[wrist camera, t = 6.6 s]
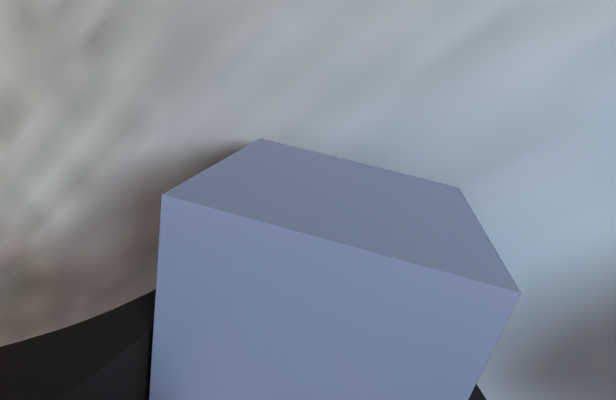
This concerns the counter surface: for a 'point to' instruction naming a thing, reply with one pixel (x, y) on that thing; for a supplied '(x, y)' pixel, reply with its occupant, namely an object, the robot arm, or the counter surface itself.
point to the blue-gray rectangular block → (321, 284)
